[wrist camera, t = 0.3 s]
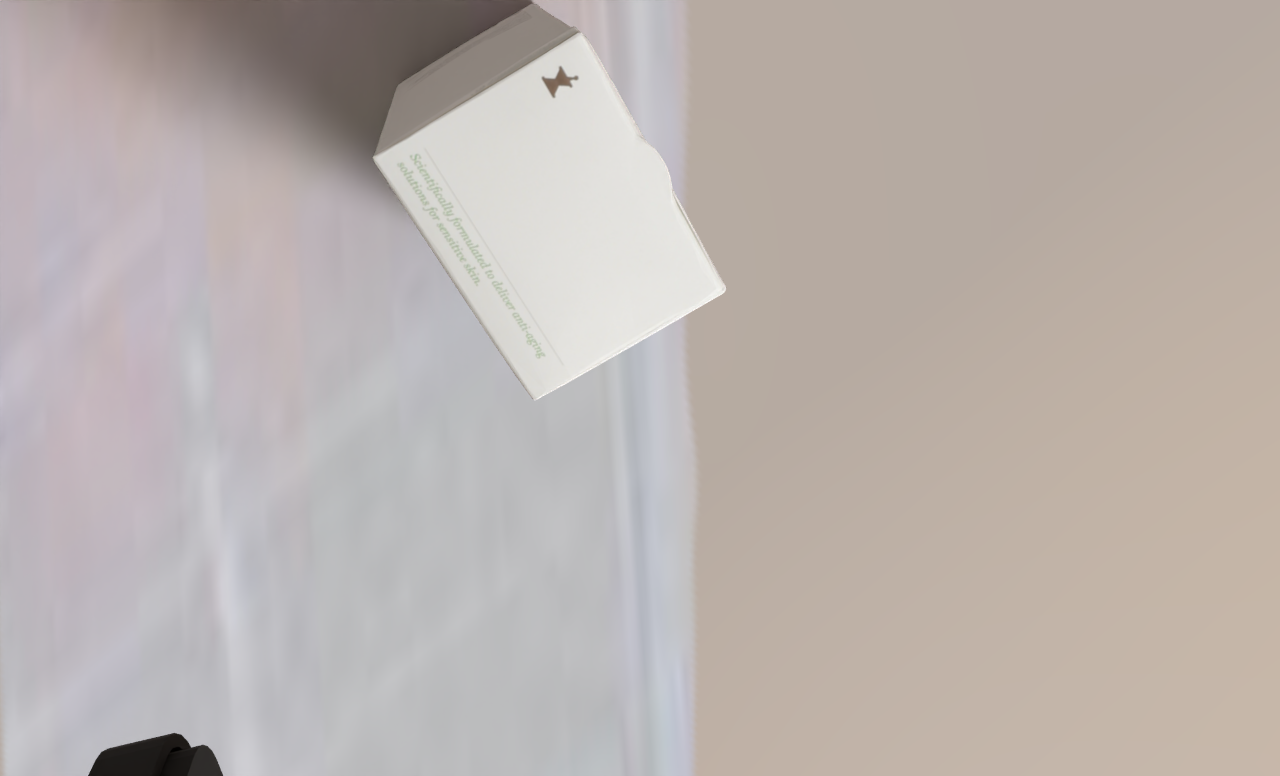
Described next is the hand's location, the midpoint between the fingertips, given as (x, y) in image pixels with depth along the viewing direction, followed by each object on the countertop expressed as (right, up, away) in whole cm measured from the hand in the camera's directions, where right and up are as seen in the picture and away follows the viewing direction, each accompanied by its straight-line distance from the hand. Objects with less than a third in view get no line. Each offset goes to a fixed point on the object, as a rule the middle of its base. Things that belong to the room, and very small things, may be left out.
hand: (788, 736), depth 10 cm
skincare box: (-6, +13, +34) cm, 37 cm away
